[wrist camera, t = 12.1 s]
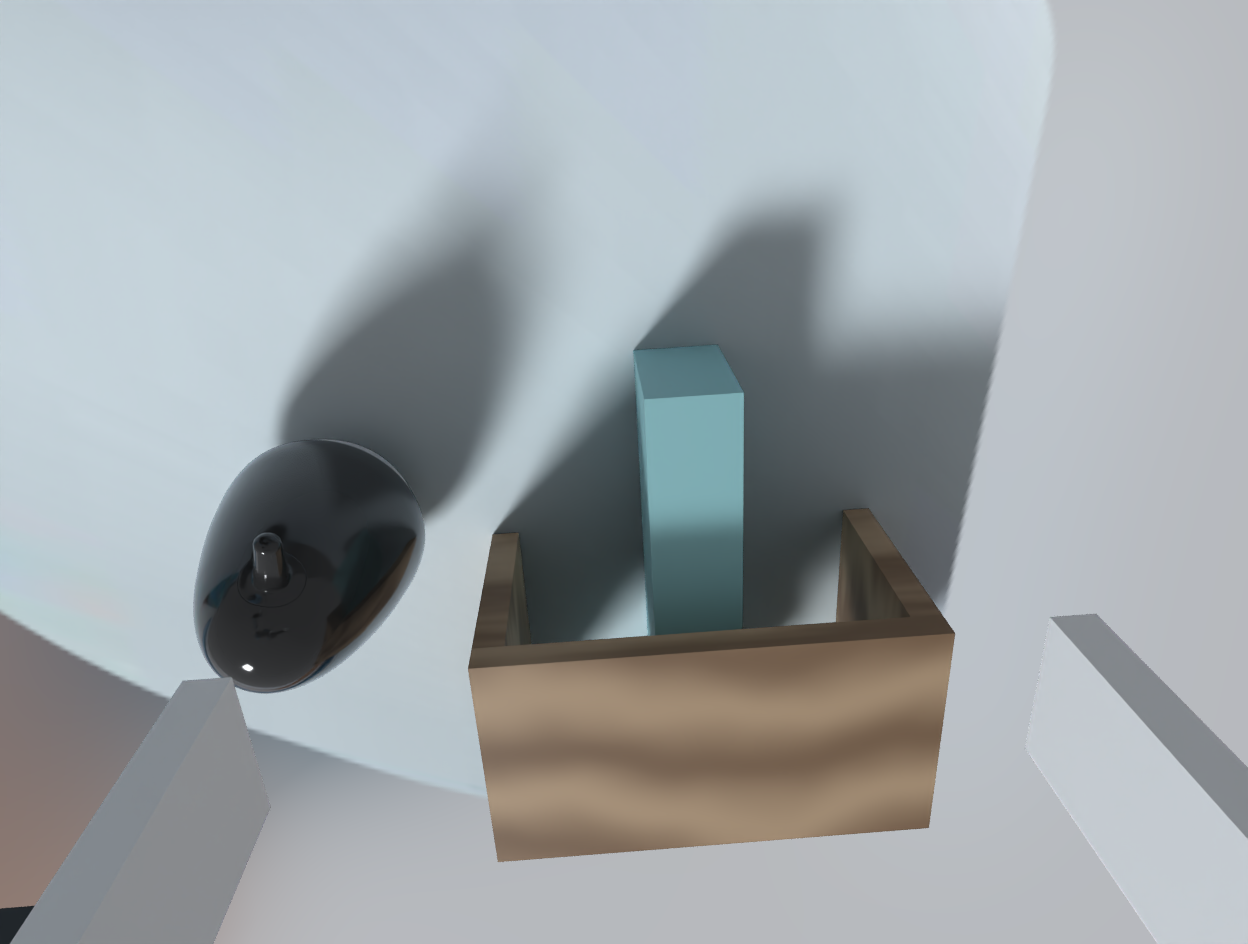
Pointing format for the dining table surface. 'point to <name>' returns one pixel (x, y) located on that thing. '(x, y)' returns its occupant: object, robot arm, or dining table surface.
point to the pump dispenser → (304, 563)
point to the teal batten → (690, 488)
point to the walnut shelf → (713, 719)
